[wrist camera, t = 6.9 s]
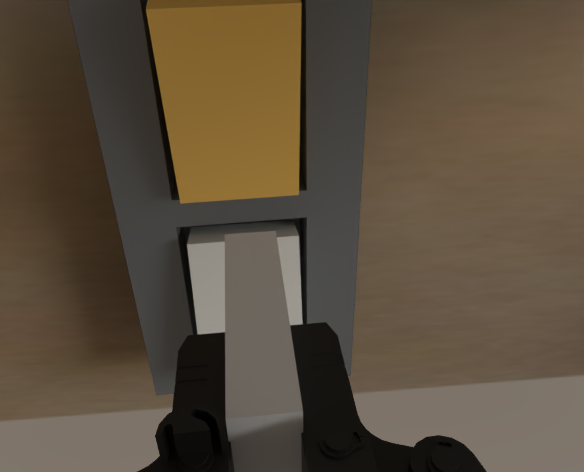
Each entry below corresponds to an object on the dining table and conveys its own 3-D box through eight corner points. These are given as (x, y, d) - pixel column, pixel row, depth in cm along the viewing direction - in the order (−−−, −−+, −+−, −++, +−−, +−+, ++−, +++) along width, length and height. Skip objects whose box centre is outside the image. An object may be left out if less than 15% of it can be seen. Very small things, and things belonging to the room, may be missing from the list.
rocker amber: (151, -17, 19) (145, 9, 17) (292, -22, 19) (301, 2, 18) (181, 169, 24) (180, 203, 23) (292, 162, 25) (298, 194, 23)
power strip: (-54, -772, 14) (-171, -1057, 10) (368, -738, 15) (428, -983, 11) (163, 333, 34) (156, 395, 30) (334, 317, 35) (350, 375, 31)
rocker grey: (190, 227, 26) (187, 244, 24) (293, 219, 27) (298, 235, 25) (206, 368, 29) (204, 395, 27) (299, 359, 29) (305, 385, 27)
